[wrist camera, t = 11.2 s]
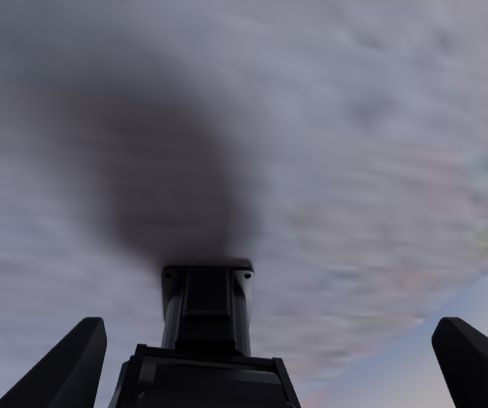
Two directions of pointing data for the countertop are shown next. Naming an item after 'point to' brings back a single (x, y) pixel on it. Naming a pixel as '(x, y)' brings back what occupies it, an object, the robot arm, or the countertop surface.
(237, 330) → the robot arm
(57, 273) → the countertop surface
